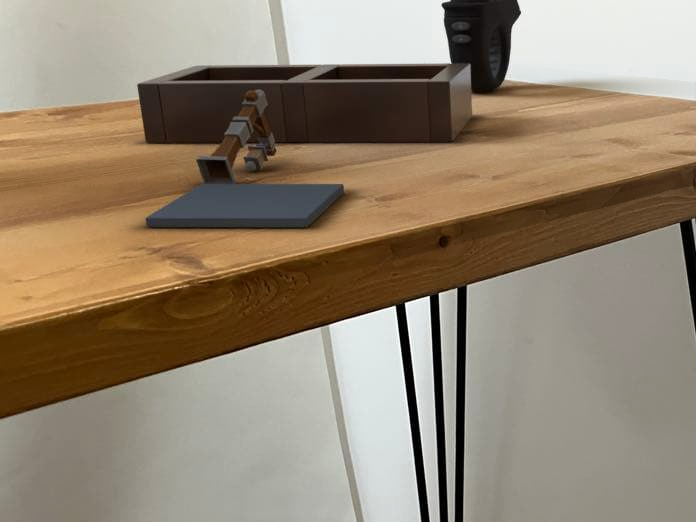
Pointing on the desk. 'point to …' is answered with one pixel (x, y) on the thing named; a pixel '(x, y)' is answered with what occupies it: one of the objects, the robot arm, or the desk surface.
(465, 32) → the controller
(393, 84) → the divided wooden tray
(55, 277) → the desk surface
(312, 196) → the coaster
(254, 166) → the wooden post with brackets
